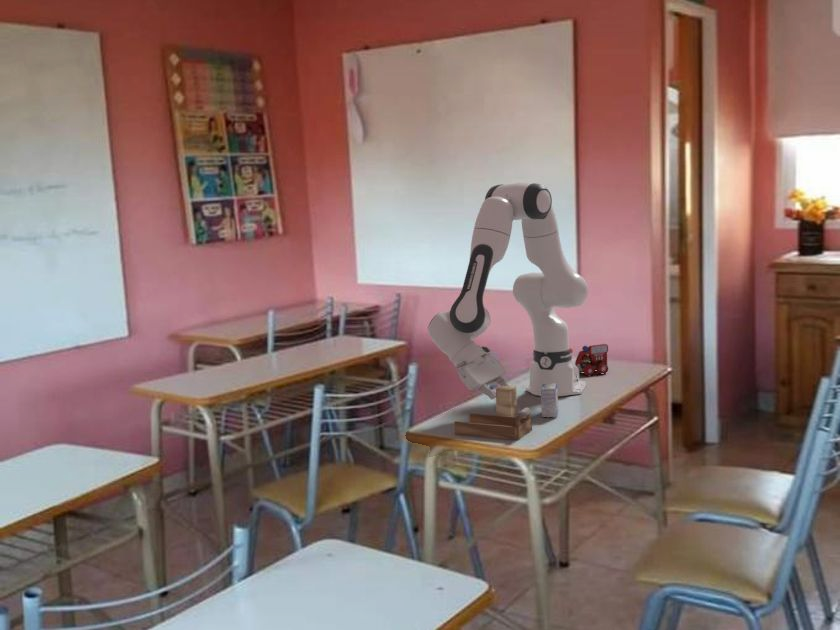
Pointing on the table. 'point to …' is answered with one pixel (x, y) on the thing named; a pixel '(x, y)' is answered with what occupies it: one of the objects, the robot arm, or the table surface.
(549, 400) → the medicine box
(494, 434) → the wooden drawer with handle
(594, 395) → the table surface
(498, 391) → the tan wooden block
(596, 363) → the toy fire truck
